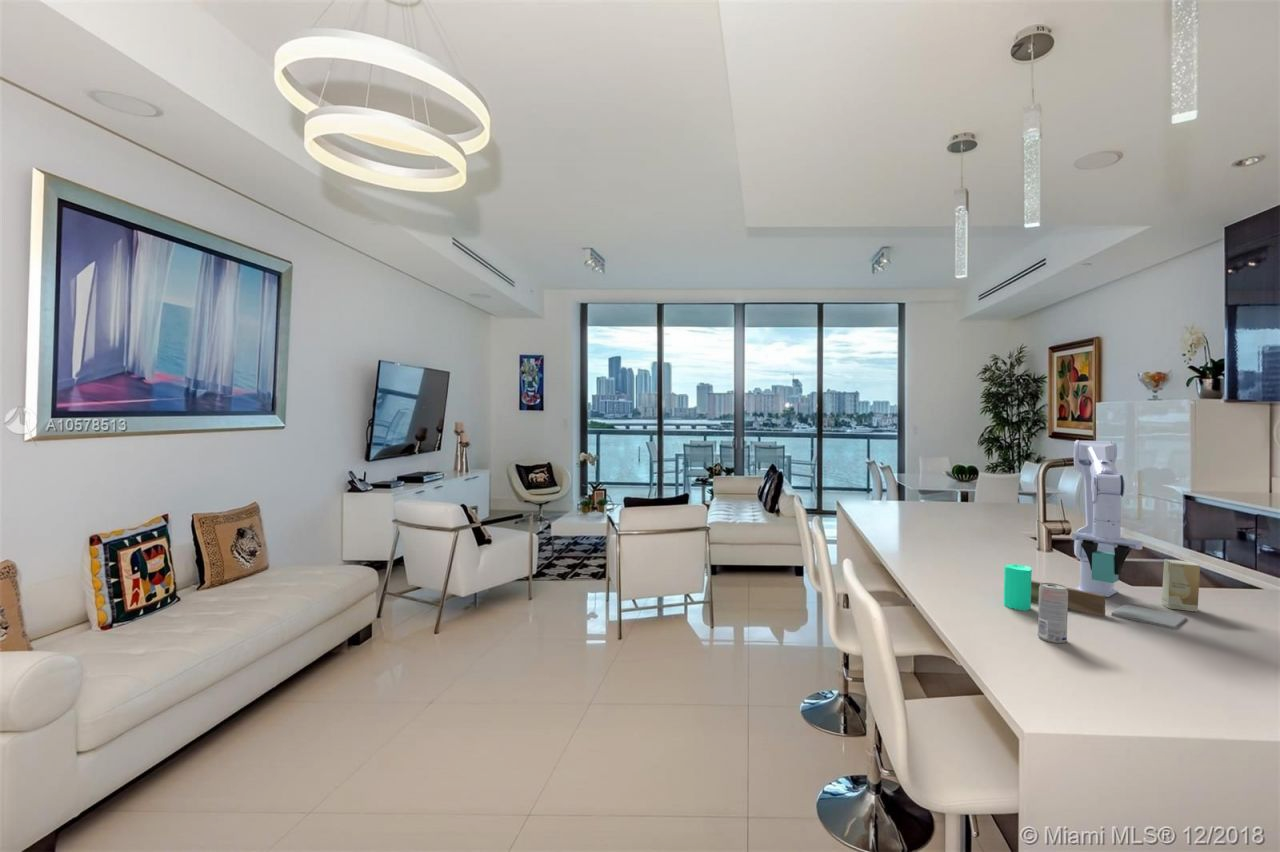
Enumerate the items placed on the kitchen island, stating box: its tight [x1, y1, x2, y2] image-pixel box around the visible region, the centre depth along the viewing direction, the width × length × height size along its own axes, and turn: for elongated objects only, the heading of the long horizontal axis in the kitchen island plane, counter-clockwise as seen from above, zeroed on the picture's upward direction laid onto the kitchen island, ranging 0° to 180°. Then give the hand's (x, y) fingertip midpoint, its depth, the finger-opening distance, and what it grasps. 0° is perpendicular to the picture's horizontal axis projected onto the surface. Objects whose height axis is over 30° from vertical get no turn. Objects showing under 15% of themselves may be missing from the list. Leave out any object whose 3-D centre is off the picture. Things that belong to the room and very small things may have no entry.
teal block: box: [1092, 551, 1119, 584], centre depth 155 cm, size 4×4×7 cm
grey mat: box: [1111, 603, 1187, 630], centre depth 148 cm, size 12×12×1 cm
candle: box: [1003, 563, 1033, 611], centre depth 155 cm, size 6×6×12 cm
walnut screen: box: [1031, 579, 1107, 617], centre depth 156 cm, size 2×20×5 cm, turn 37°
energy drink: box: [1037, 582, 1069, 644], centre depth 132 cm, size 5×5×12 cm
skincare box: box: [1161, 558, 1201, 613], centre depth 155 cm, size 6×4×12 cm
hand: (1105, 571), depth 155 cm, fingers closed on teal block, 4 cm apart
